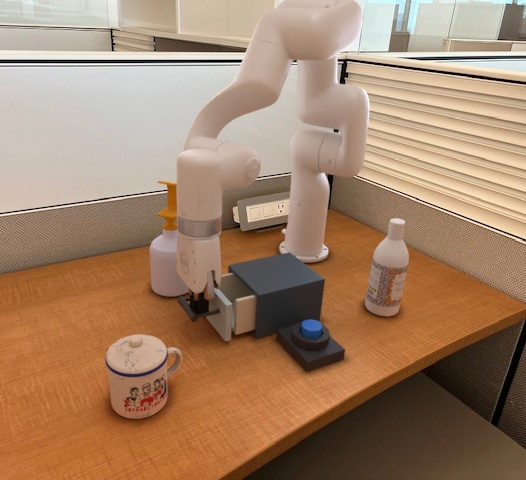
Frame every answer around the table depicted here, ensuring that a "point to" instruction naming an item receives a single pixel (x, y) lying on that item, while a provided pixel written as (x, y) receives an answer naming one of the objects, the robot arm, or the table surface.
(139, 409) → the teacup with lid
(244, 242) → the table surface
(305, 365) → the panel
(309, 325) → the button
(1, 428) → the table surface
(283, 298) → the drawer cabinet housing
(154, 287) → the soap bottle
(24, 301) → the table surface
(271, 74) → the robot arm
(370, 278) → the bath foam
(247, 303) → the drawer
